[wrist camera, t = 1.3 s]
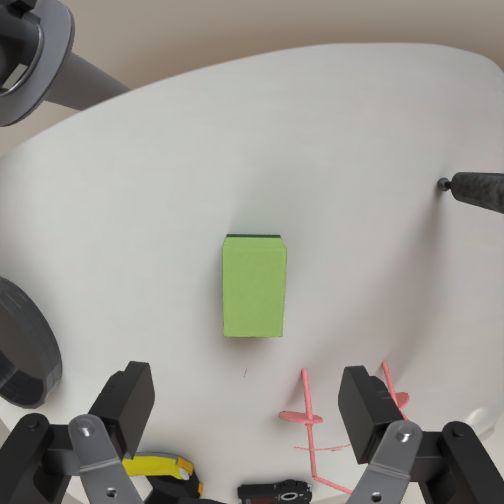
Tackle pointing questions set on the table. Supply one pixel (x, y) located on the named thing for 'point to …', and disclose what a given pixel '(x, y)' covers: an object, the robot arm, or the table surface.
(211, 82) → the table surface
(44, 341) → the pan
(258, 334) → the sponge
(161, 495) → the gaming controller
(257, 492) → the camera
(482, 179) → the microphone
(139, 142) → the table surface
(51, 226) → the table surface
